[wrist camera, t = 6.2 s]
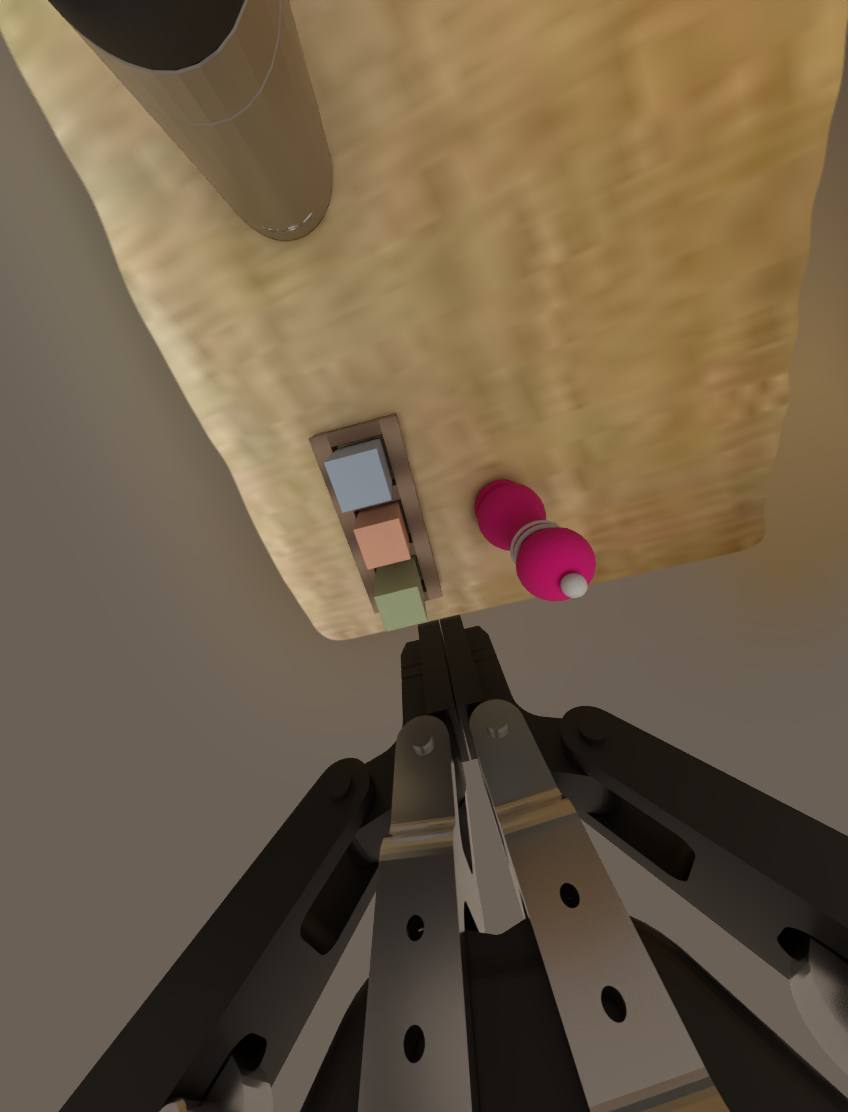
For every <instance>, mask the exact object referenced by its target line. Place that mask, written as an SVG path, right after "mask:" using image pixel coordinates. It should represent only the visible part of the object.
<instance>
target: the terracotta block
mask: <svg viewBox="0 0 848 1112" xmlns="http://www.w3.org/2000/svg"><path fill="white" fill-rule="evenodd" d="M353 531H354V533H355V536H356V539H357V542H358V544H359V547H360V550H361V553H362V555H363V558H364V561H365V564H366V566H367V569H368V570H369V569H373V568H377V567H381V566H385V565H389V564H393V563H397V562H401V561H405V560H409V559H411V558H410V547H409V537H408V531H407V527H406V524H405V520H404V517H403V513H402V510H401V506H400V503H399V500H395V501H391V502H388V503H384V504H380V505H376V506H372V507H368V508H364V509H361V510H359V512H358V516H357V519H356V522H355V526H354V529H353Z"/></svg>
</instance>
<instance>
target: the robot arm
mask: <svg viewBox="0 0 848 1112" xmlns="http://www.w3.org/2000/svg"><path fill="white" fill-rule="evenodd" d="M48 1H49V2H50V3H51V4H52V5H53V6H54V8H55V9H56V10H57V11H58V12H59V13H60V14H61V15H62V16H63V17H64V18H65V19H66V20H67V22H68V23H69V24H70V25H71V26H72V27H73V28H74V29H75V31H76V32H77V33H78V34H79V35H80V36H81V37H82V39H83V40H84V41H85V42H86V43H87V44H88V45H89V46H90V48H91V49H92V50H93V51H94V52H95V53H96V54H97V55H98V57H99V58H100V59H101V60H102V61H103V62H104V63H105V64H106V66H107V67H108V68H109V69H110V70H111V71H112V72H113V73H114V75H115V76H116V77H117V78H118V79H119V80H120V81H121V82H122V84H123V85H124V86H125V87H126V88H127V89H128V90H129V91H130V92H131V94H132V95H133V96H134V97H135V98H136V99H137V100H138V101H139V103H140V104H141V105H142V106H143V107H144V108H145V109H146V111H147V112H148V113H149V114H150V115H151V116H152V117H153V118H154V120H155V121H156V122H157V123H158V124H159V125H160V126H161V128H162V129H163V130H164V131H165V132H166V133H167V134H168V136H169V137H170V138H171V139H172V140H173V141H174V142H175V143H176V145H177V146H178V147H179V148H180V149H181V150H182V151H183V153H184V154H185V155H186V156H187V157H188V158H189V159H190V160H191V162H192V163H193V164H194V165H195V166H196V167H197V168H198V170H199V171H200V172H201V173H202V174H203V175H204V176H205V177H206V179H207V180H208V181H209V182H210V183H211V184H212V185H213V187H214V188H215V189H216V190H217V191H218V192H219V194H220V195H221V196H222V197H223V198H224V199H225V200H226V201H227V203H228V204H229V205H230V206H231V207H232V208H233V209H234V210H235V212H236V213H237V214H238V215H239V216H240V217H241V218H242V219H243V220H244V221H245V222H246V223H247V224H248V225H249V226H250V227H252V228H253V229H255V230H256V231H258V232H259V233H261V234H262V235H265V236H267V237H270V238H273V239H277V240H285V241H286V240H293V239H298V238H300V237H302V236H305V235H307V234H308V233H309V232H310V231H312V230H313V229H314V228H315V227H316V226H317V225H318V223H319V222H320V221H321V219H322V218H323V216H324V214H325V212H326V209H327V207H328V204H329V200H330V196H331V191H332V165H331V156H330V152H329V149H328V145H327V141H326V137H325V133H324V129H323V126H322V122H321V118H320V113H319V110H318V106H317V102H316V99H315V95H314V91H313V87H312V84H311V80H310V76H309V73H308V69H307V65H306V62H305V58H304V54H303V50H302V47H301V43H300V39H299V36H298V32H297V28H296V25H295V21H294V17H293V13H292V10H291V6H290V2H289V0H48ZM440 623H441V628H442V632H441V628H440V625H439V621H438V620H435V621H431V622H427V623H422V624H419V625H418V631H419V640H416V641H412V642H408V643H406V645H405V647H404V649H403V652H402V654H401V669H402V670H401V675H402V705H403V726H402V729H401V731H400V732H399V734H398V737H397V740H396V742H395V743H394V744H393V745H392V746H391V747H390V748H389V749H388V750H387V751H386V752H384V753H383V754H381V755H379V756H378V757H376V758H374V759H373V760H371V761H369V762H367V763H366V764H364V763H363V762H362V761H360V760H358V759H355V758H346V759H342V760H339V761H337V762H335V763H334V764H332V765H331V766H330V767H328V769H326V770H325V772H324V773H323V774H322V775H321V776H320V778H319V779H318V780H317V782H316V783H315V784H314V785H313V787H312V788H311V789H310V790H309V792H308V793H307V794H306V796H305V797H304V798H303V800H302V801H301V802H300V803H299V805H298V806H297V807H296V808H295V810H294V811H293V812H292V814H291V815H290V816H289V817H288V819H287V820H286V821H285V822H284V824H283V825H282V827H281V828H280V829H279V830H278V831H277V833H276V834H275V835H274V837H273V838H272V839H271V840H270V842H269V843H268V844H267V846H266V847H265V848H264V849H263V851H262V852H261V853H260V854H259V856H258V857H257V858H256V860H255V861H254V862H253V864H252V865H251V866H250V867H249V869H248V870H247V871H246V873H245V874H244V875H243V876H242V878H241V879H240V880H239V881H238V883H237V884H236V885H235V886H234V888H233V889H232V890H231V892H230V893H229V894H228V895H227V897H226V898H225V899H224V901H223V902H222V903H221V904H220V906H219V907H218V908H217V910H216V911H215V912H214V913H213V915H212V916H211V917H210V919H209V920H208V921H207V923H206V924H205V925H204V926H203V928H202V929H201V930H200V932H199V933H198V934H197V935H196V936H195V938H194V939H193V940H192V942H191V943H190V944H189V945H188V947H187V948H186V949H185V951H184V952H183V953H182V954H181V956H180V957H179V958H178V960H177V961H176V962H175V963H174V965H173V966H172V967H171V968H170V970H169V971H168V972H167V974H166V975H165V976H164V977H163V979H162V980H161V981H160V982H159V984H158V985H157V986H156V988H155V989H154V990H153V991H152V993H151V994H150V995H149V997H148V998H147V999H146V1000H145V1002H144V1003H143V1004H142V1006H141V1007H140V1008H139V1010H138V1011H137V1012H136V1013H135V1015H134V1016H133V1017H132V1018H131V1020H130V1021H129V1022H128V1023H127V1025H126V1026H125V1027H124V1029H123V1030H122V1031H121V1032H120V1034H119V1035H118V1036H117V1038H116V1039H115V1040H114V1041H113V1043H112V1044H111V1045H110V1047H109V1048H108V1049H107V1050H106V1052H105V1053H104V1054H103V1055H102V1057H101V1058H100V1059H99V1061H98V1062H97V1063H96V1064H95V1066H94V1067H93V1068H92V1070H91V1071H90V1072H89V1073H88V1075H87V1076H86V1077H85V1079H84V1080H83V1081H82V1082H81V1084H80V1085H79V1086H78V1087H77V1089H76V1090H75V1091H74V1093H73V1094H72V1095H71V1096H70V1098H69V1099H68V1100H67V1102H66V1103H65V1104H64V1105H63V1107H62V1108H61V1109H60V1111H59V1112H273V1097H272V1091H271V1087H272V1085H273V1083H274V1081H275V1079H276V1077H277V1075H278V1074H279V1072H280V1070H281V1068H282V1066H283V1064H284V1062H285V1060H286V1059H287V1057H288V1055H289V1053H290V1051H291V1049H292V1047H293V1045H294V1043H295V1042H296V1040H297V1038H298V1036H299V1034H300V1032H301V1030H302V1029H303V1026H304V1025H305V1023H306V1021H307V1019H308V1017H309V1015H310V1014H311V1012H312V1010H313V1008H314V1006H315V1004H316V1002H317V1000H318V999H319V997H320V995H321V993H322V991H323V989H324V987H325V985H326V984H327V982H328V980H329V978H330V976H331V974H332V972H333V970H334V969H335V967H336V965H337V963H338V961H339V959H340V957H341V955H342V954H343V952H344V950H345V948H346V946H347V944H348V942H349V940H350V939H351V937H352V935H353V933H354V931H355V929H356V927H357V925H358V923H359V922H360V920H361V918H362V916H363V914H364V912H365V910H366V909H367V907H368V905H369V903H370V901H371V899H372V897H373V896H374V894H375V892H376V902H375V913H374V925H373V937H372V949H371V960H370V972H369V978H368V979H367V980H366V981H365V983H364V985H363V986H362V987H361V988H360V990H359V991H358V993H357V994H356V996H355V997H354V999H353V1001H352V1002H351V1004H350V1006H349V1008H348V1009H347V1011H346V1013H345V1015H344V1017H343V1019H342V1021H341V1023H340V1025H339V1027H338V1030H337V1032H336V1034H335V1036H334V1039H333V1041H332V1043H331V1045H330V1047H329V1049H328V1052H327V1054H326V1056H325V1058H324V1060H323V1062H322V1065H321V1067H320V1069H319V1071H318V1073H317V1076H316V1078H315V1080H314V1082H313V1084H312V1086H311V1089H310V1091H309V1093H308V1095H307V1097H306V1100H305V1102H304V1104H303V1106H302V1108H301V1111H300V1112H848V1098H847V1097H845V1096H844V1095H843V1094H842V1093H841V1092H840V1091H839V1090H838V1089H837V1088H836V1087H834V1086H833V1085H832V1084H831V1083H830V1082H829V1081H828V1080H827V1079H826V1078H824V1077H823V1076H822V1075H821V1074H820V1073H819V1072H818V1071H817V1070H816V1069H814V1068H813V1067H812V1066H811V1065H810V1064H809V1063H808V1062H807V1061H806V1060H805V1059H803V1058H802V1057H801V1056H800V1055H799V1054H798V1053H797V1052H796V1051H795V1050H794V1049H792V1048H791V1047H790V1046H789V1045H788V1044H787V1043H786V1042H785V1041H784V1040H782V1039H781V1038H780V1037H779V1036H778V1035H777V1034H776V1033H775V1032H774V1031H773V1030H771V1029H770V1028H769V1027H768V1026H767V1025H766V1024H765V1023H764V1022H762V1021H761V1020H760V1019H759V1018H758V1017H757V1016H756V1015H755V1014H754V1013H752V1011H750V1010H749V1009H748V1008H747V1007H746V1006H745V1005H744V1004H743V1003H741V1002H740V1001H739V1000H738V999H737V998H736V997H735V996H734V995H733V994H732V993H731V992H729V991H728V990H727V989H726V988H725V987H724V986H723V985H722V984H721V983H719V982H718V981H717V980H716V979H715V978H714V977H713V976H712V975H711V974H709V973H708V972H707V971H706V970H705V969H704V968H703V967H702V966H701V965H700V964H698V963H697V962H696V961H695V960H694V959H693V958H692V957H691V956H690V955H688V954H687V953H686V952H685V951H684V950H683V949H682V948H680V947H679V946H678V945H677V944H676V943H674V942H673V941H671V940H670V939H669V938H667V937H666V936H665V935H664V934H662V933H661V932H659V931H658V930H656V929H654V928H653V927H651V926H649V925H648V924H646V923H644V922H642V921H640V920H638V919H636V918H633V917H632V916H629V915H628V913H627V911H626V909H625V907H624V905H623V903H622V901H621V899H620V897H619V895H618V893H617V891H616V889H615V887H614V885H613V883H612V881H611V879H610V877H609V875H608V873H607V871H606V869H605V867H604V865H603V864H602V862H601V859H600V857H599V855H598V853H597V851H596V849H595V847H594V845H593V843H592V842H591V839H590V837H589V835H588V834H587V832H586V829H585V827H584V826H583V824H582V822H581V819H582V820H583V821H584V822H586V823H587V824H588V825H590V826H591V827H592V828H594V829H595V830H596V831H598V832H599V833H600V834H601V835H602V836H604V837H605V838H606V839H608V840H609V841H610V842H612V843H613V844H614V845H615V846H617V847H618V848H619V849H621V850H622V851H623V852H624V853H626V854H627V855H628V856H630V857H631V858H632V859H634V860H635V861H636V862H637V863H639V864H640V865H641V866H643V867H644V868H645V869H647V870H648V871H649V872H650V873H652V874H653V875H654V876H655V877H657V878H658V879H659V880H661V881H662V882H663V883H665V884H666V885H667V886H668V887H670V888H671V889H672V890H674V891H675V892H676V893H677V894H679V895H680V896H681V897H683V898H684V899H685V900H687V901H688V902H689V903H690V904H692V905H693V906H694V907H696V908H697V909H698V910H700V911H701V912H702V913H703V914H705V915H706V916H707V917H709V918H710V919H711V920H712V921H714V922H715V923H716V924H718V925H719V926H720V927H721V928H723V929H724V930H725V931H727V932H728V933H729V934H731V935H732V936H733V937H734V938H736V939H737V940H738V941H740V942H741V943H742V944H744V945H745V946H746V947H747V948H749V949H750V950H751V951H753V952H754V953H755V954H756V955H758V956H759V957H760V958H762V959H763V960H764V961H765V962H767V963H768V964H769V965H771V966H772V967H773V968H775V969H776V970H777V971H778V972H780V973H781V974H782V975H784V976H785V977H787V979H789V980H790V986H791V991H792V994H793V998H794V1001H795V1003H796V1006H797V1008H798V1010H799V1013H800V1015H801V1016H802V1018H803V1020H804V1022H805V1024H806V1026H807V1027H808V1029H809V1030H810V1032H811V1033H812V1035H813V1036H814V1038H815V1039H816V1040H817V1042H818V1043H819V1044H820V1046H821V1047H822V1048H823V1050H824V1051H825V1052H826V1053H827V1054H828V1055H829V1057H830V1058H831V1059H832V1060H833V1061H834V1062H835V1063H836V1064H837V1065H838V1066H839V1067H840V1068H841V1069H842V1070H843V1071H844V1072H845V1073H846V1074H847V1075H848V836H846V835H844V834H842V833H840V832H838V831H836V830H835V829H833V828H831V827H828V826H827V825H825V824H823V823H821V822H819V821H817V820H815V819H813V818H811V817H809V816H807V815H805V814H804V813H802V812H800V811H798V810H796V809H794V808H792V807H790V806H788V805H786V804H784V803H782V802H780V801H778V800H777V799H774V798H773V797H770V796H769V795H767V794H765V793H763V792H761V791H759V790H757V789H755V788H753V787H751V786H749V785H747V784H746V783H744V782H741V781H740V780H738V779H736V778H734V777H732V776H730V775H728V774H726V773H724V772H722V771H720V770H718V769H716V768H715V767H712V766H711V765H709V764H707V763H704V762H703V761H701V760H699V759H697V758H695V757H693V756H691V755H689V754H687V753H686V752H684V751H682V750H680V749H678V748H676V747H674V746H672V745H670V744H668V743H666V742H664V741H662V740H660V739H658V738H656V737H655V736H653V735H651V734H649V733H647V732H645V731H643V730H641V729H639V728H637V727H635V726H633V725H631V724H629V723H627V722H626V721H624V720H622V719H620V718H618V717H616V716H614V715H612V714H610V713H608V712H606V711H604V710H602V709H599V708H596V707H591V706H580V707H576V708H573V709H571V710H569V711H568V712H567V713H566V714H565V715H564V716H563V718H551V717H541V716H536V715H533V714H531V713H528V712H527V711H525V710H523V709H522V708H521V707H519V706H518V704H517V703H516V702H515V701H514V699H513V697H512V695H511V692H510V690H509V687H508V685H507V682H506V679H505V677H504V674H503V672H502V669H501V666H500V664H499V661H498V659H497V656H496V653H495V651H494V649H493V645H492V643H491V640H490V638H489V635H488V634H487V633H486V632H485V631H484V630H483V629H482V628H480V627H479V626H475V627H471V628H466V629H464V627H463V624H462V620H461V617H460V615H456V616H452V617H447V618H443V619H440ZM442 633H443V636H442ZM443 638H444V640H443ZM463 729H464V731H463ZM464 733H465V736H464ZM465 737H466V740H467V744H468V748H469V751H470V755H471V759H472V760H473V759H477V758H478V762H479V766H480V770H481V774H482V778H483V781H484V785H485V789H486V792H487V796H488V799H489V803H490V806H491V809H492V813H493V815H494V819H495V822H496V826H497V829H498V832H499V835H500V839H501V842H502V846H503V849H504V852H505V855H506V859H507V862H508V865H509V869H510V872H511V875H512V879H513V882H514V886H515V890H516V893H517V896H518V900H519V903H520V907H521V910H522V913H523V917H524V920H523V921H521V922H520V923H518V924H516V925H515V926H513V927H512V928H510V929H509V930H507V931H506V932H504V933H502V934H499V935H492V934H487V933H485V929H484V921H483V914H482V908H481V901H480V896H479V891H478V886H477V879H476V872H475V863H474V854H473V845H472V837H471V828H470V819H469V811H468V810H469V809H468V801H467V792H466V781H465V776H464V770H463V765H462V762H465V761H469V756H468V751H467V747H466V741H465Z"/></svg>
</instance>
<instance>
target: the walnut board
mask: <svg viewBox="0 0 848 1112" xmlns="http://www.w3.org/2000/svg"><path fill="white" fill-rule="evenodd" d="M379 434H383V438H384V442H385V445H386V449H387V452H388V456H389V459H390V463H391V466H392V470H393V473H394V477H395V479H393V480H392V500H390V501H386V502H382V503H379V504H375V505H371V506H367V507H363V508H359V509H355V510H352V511H348V512H344V513H342V510H341V507H340V505H339V502H338V499H337V497H336V494H335V491H334V489H333V486H332V483H331V480H330V478H329V475H328V472H327V470H326V467H325V464H324V462H325V461H326V460H327V459H328V458H329V457H330V456H331V455H332V454H333V453H334V452H335V451H336V450H337V447H336V446H338V445H341V444H345V443H349V442H353V441H356V440H360V439H364V438H368V437H371V436H375V435H379ZM309 441H310V444H311V446H312V449H313V452H314V454H315V457H316V460H317V462H318V465H319V467H320V470H321V473H322V475H323V478H324V481H325V483H326V486H327V489H328V491H329V494H330V496H331V499H332V502H333V504H334V507H335V510H336V512H337V515H338V517H339V520H340V523H341V525H342V528H343V531H344V533H345V536H346V539H347V541H348V544H349V546H350V549H351V552H352V554H353V557H354V560H355V562H356V565H357V568H358V570H359V573H360V575H361V578H362V581H363V583H364V586H365V589H366V591H367V594H368V597H369V599H370V602H371V604H372V607H373V610H374V612H375V613H378V612H379V610H378V607H377V604H376V602H375V599H374V591H375V581H376V571H377V568H373V569H369V570H368V569H367V566H366V564H365V561H364V558H363V555H362V553H361V550H360V547H359V544H358V542H357V539H356V536H355V533H354V531H353V529H354V526H355V522H356V519H357V516H358V512H359V510H361V509H364V508H368V507H372V506H376V505H380V504H384V503H388V502H391V501H395V500H399V499H401V502H402V505H403V509H404V512H405V516H406V519H407V523H408V526H409V530H410V533H409V534H408V537H409V547H410V556H412V555H417V558H418V562H419V565H420V569H421V573H422V576H423V580H421V583H422V587H423V593H424V600H425V601H427V600H431V599H435V598H439V597H443V595H442V590H441V586H440V582H439V578H438V574H437V571H436V567H435V563H434V559H433V555H432V551H431V547H430V543H429V540H428V536H427V532H426V528H425V524H424V520H423V516H422V512H421V509H420V505H419V501H418V497H417V493H416V489H415V485H414V481H413V478H412V474H411V470H410V466H409V462H408V458H407V454H406V451H405V447H404V443H403V439H402V435H401V431H400V427H399V423H398V420H397V416H396V414H392V415H388V416H385V417H381V418H377V419H374V420H370V421H366V422H362V423H359V424H355V425H351V426H348V427H344V428H340V429H336V430H333V431H329V432H325V433H321V434H318V435H315V436H313V437H311V438H309Z"/></svg>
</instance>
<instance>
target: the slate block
mask: <svg viewBox="0 0 848 1112" xmlns="http://www.w3.org/2000/svg"><path fill="white" fill-rule="evenodd" d="M324 464H325V467H326V470H327V472H328V475H329V478H330V480H331V483H332V486H333V489H334V491H335V494H336V497H337V499H338V502H339V505H340V507H341V510H342V513H344V512H348V511H352V510H355V509H359V508H363V507H367V506H371V505H375V504H379V503H382V502H386V501H390V500H392V479H391V475H390V472H389V468H388V465H387V461H386V458H385V454H384V451H383V448H382V444H381V441H380V438H378V439H374V440H371V441H367V442H363V443H359V444H356V445H352V446H348V447H344V448H341V449H337V450H336V451H335V452H334V453H333V454H332V455H331V456H330V457H329V458H328V459H327V460H326V461H325V462H324Z"/></svg>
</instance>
